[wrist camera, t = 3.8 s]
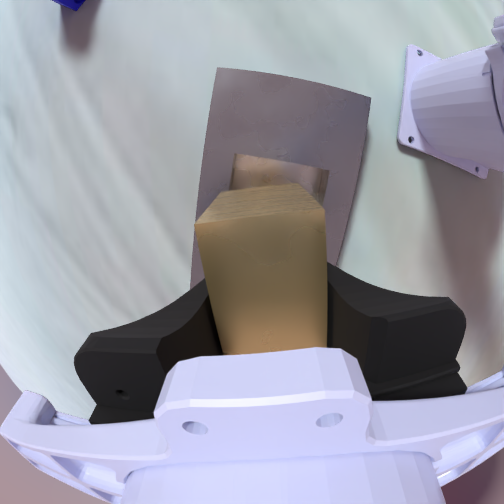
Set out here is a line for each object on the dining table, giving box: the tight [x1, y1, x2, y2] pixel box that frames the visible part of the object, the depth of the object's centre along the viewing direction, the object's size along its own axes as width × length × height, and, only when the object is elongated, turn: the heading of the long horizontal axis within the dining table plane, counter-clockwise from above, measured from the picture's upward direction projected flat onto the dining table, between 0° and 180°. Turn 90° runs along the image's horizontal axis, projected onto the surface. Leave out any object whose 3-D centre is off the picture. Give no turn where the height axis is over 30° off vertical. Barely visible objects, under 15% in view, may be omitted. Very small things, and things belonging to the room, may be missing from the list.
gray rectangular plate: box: [190, 68, 371, 290], centre depth 18 cm, size 9×20×2 cm, turn 171°
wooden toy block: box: [194, 183, 327, 356], centre depth 11 cm, size 4×8×6 cm, turn 7°
